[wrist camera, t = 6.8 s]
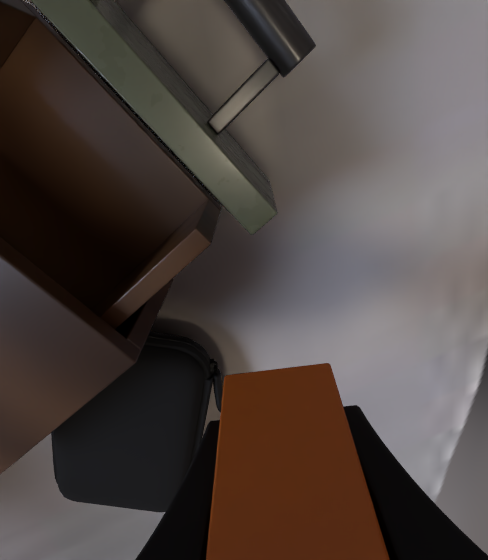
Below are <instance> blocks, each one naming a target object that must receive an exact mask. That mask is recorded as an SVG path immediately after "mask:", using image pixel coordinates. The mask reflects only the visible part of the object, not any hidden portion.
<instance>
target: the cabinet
mask: <svg viewBox="0 0 488 560" xmlns="http://www.w3.org/2000/svg"><path fill="white" fill-rule="evenodd" d="M172 281H173V278H172V279H171V280H170V281H169V282H168V283H167V284H166V285H165V286H163V287H162V288H161V289H160V290H159V291H158V292H157V293H156V294H154V295H153V296H152V297H151V298H150V299H149V300H148V301H147V302H145V303H144V304H143V305H142V306H141V307H140V308H139V309H138V310H136V311H135V312H134V313H133V314H132V315H131V316H130V317H129V318H127V319H126V320H125V321H124V322H123V323H122V324H121V325H120V326H118V327H117V328H116V329H113V328H112V327H111V326H110V325H108V324H107V323H106V322H105V321H103V320H102V319H101V318H100V317H99V316H97V315H96V314H95V313H94V312H92V311H91V310H90V309H89V308H87V307H86V306H85V305H84V304H82V303H81V302H80V301H79V300H77V299H76V298H75V297H74V296H72V295H71V294H70V293H69V292H68V291H66V290H65V289H64V288H63V287H61V286H60V285H59V284H58V283H56V282H55V281H54V280H53V279H51V278H50V277H49V276H48V275H46V274H45V273H44V272H43V271H41V270H40V269H39V268H38V267H36V266H35V265H34V264H33V263H32V262H30V261H29V260H28V259H27V258H25V257H24V256H23V255H22V254H20V253H19V252H18V251H17V250H15V249H14V248H13V247H12V246H10V245H9V244H8V243H7V242H5V241H4V240H3V239H2V238H0V474H1V473H3V472H4V471H5V470H6V469H7V468H9V467H10V466H11V465H12V464H13V463H15V462H16V461H17V460H18V459H20V458H21V457H22V456H23V455H24V454H26V453H27V452H28V451H29V450H30V449H32V448H33V447H34V446H35V445H37V444H38V443H39V442H40V441H41V440H43V439H44V438H45V437H46V436H47V435H49V434H50V433H51V432H52V431H54V430H55V429H56V428H57V427H58V426H60V425H61V424H62V423H63V422H64V421H66V420H67V419H68V418H69V417H71V416H72V415H73V414H74V413H75V412H77V411H78V410H79V409H80V408H81V407H83V406H84V405H85V404H86V403H87V402H89V401H90V400H91V399H92V398H94V397H95V396H96V395H97V394H98V393H100V392H101V391H102V390H103V389H104V388H106V387H107V386H108V385H109V384H111V383H112V382H113V381H114V380H115V379H117V378H118V377H119V376H120V375H121V374H123V373H124V372H125V371H126V370H128V369H129V368H130V367H131V366H132V365H134V364H135V363H136V361H137V359H138V357H139V354H140V352H141V350H142V348H143V346H144V343H145V341H146V339H147V337H148V335H149V332H150V330H151V328H152V326H153V323H154V321H155V319H156V317H157V315H158V312H159V310H160V308H161V306H162V304H163V301H164V299H165V297H166V295H167V293H168V290H169V288H170V286H171V283H172Z"/></svg>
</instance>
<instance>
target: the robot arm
mask: <svg viewBox="0 0 488 560" xmlns="http://www.w3.org/2000/svg"><path fill="white" fill-rule="evenodd" d="M343 408H344V411H345V414H346V418H347V421H348V424H349V427H350V431H351V434H352V437H353V441H354V444H355V447H356V450H357V454H358V457H359V460H360V464H361V467H362V470H363V473H364V477H365V480H366V483H367V487H368V490H369V493H370V496H371V500H372V503H373V506H374V509H375V513H376V516H377V519H378V523H379V526H380V529H381V532H382V536H383V539H384V542H385V546H386V549H387V552H388V555H389V559H390V560H488V555H487V554H486V553H484V552H483V551H482V550H481V549H480V548H479V547H478V546H477V545H476V544H475V543H473V542H472V540H471V539H469V538H468V537H467V536H466V535H465V534H464V533H463V532H462V531H461V530H460V529H459V528H458V527H457V526H456V525H455V524H454V523H453V522H452V521H451V520H450V519H449V518H448V517H447V516H446V515H445V514H444V513H443V512H442V511H441V510H440V509H439V508H438V507H437V506H436V504H435V503H434V502H433V501H432V500H431V499H430V498H429V497H428V496H427V495H426V494H425V492H424V491H423V490H422V489H421V488H420V487H419V486H418V485H417V483H416V482H415V481H414V480H413V479H412V478H411V477H410V475H409V474H408V473H407V472H406V471H405V469H404V468H403V467H402V466H401V464H400V463H399V462H398V461H397V460H396V458H395V457H394V456H393V455H392V453H391V452H390V451H389V449H388V448H387V447H386V446H385V444H384V443H383V442H382V440H381V439H380V437H379V436H378V435H377V433H376V432H375V430H374V429H373V428H372V426H371V425H370V423H369V422H368V420H367V419H366V417H365V415H364V414H363V412H362V410H361V409H360V407H358V406H357V405H354V406H345V407H343ZM219 424H220V420H216V421H210V422H209V424H208V425H207V428H206V431H205V433H204V436H203V438H202V441H201V443H200V445H199V448H198V450H197V452H196V454H195V456H194V459H193V461H192V463H191V465H190V467H189V469H188V471H187V473H186V475H185V477H184V479H183V481H182V483H181V485H180V487H179V489H178V491H177V493H176V494H175V496H174V498H173V500H172V502H171V503H170V505H169V507H168V509H167V511H166V512H165V514H164V516H163V518H162V519H161V521H160V523H159V524H158V526H157V527H156V529H155V531H154V532H153V534H152V535H151V537H150V539H149V540H148V542H147V543H146V545H145V546H144V548H143V549H142V551H141V552H140V554H139V555H138V557H137V558H136V559H135V560H206V553H207V543H208V533H209V524H210V514H211V504H212V494H213V484H214V474H215V464H216V454H217V444H218V434H219Z"/></svg>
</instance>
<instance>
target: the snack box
mask: <svg viewBox="0 0 488 560" xmlns="http://www.w3.org/2000/svg"><path fill="white" fill-rule="evenodd" d="M206 560H390V559H389V555H388V552H387V549H386V546H385V542H384V539H383V536H382V532H381V529H380V526H379V523H378V519H377V516H376V513H375V509H374V506H373V503H372V500H371V496H370V493H369V490H368V487H367V483H366V480H365V477H364V473H363V470H362V467H361V464H360V460H359V457H358V454H357V450H356V447H355V444H354V441H353V437H352V434H351V431H350V427H349V424H348V421H347V418H346V414H345V411H344V408H343V405H342V401H341V398H340V395H339V391H338V388H337V385H336V382H335V378H334V375H333V372H332V368H331V366H330V364H329V363H324V364H316V365H308V366H299V367H291V368H283V369H274V370H266V371H257V372H249V373H241V374H232V375H226V376H225V377H224V385H223V395H222V405H221V415H220V424H219V434H218V444H217V454H216V464H215V474H214V484H213V494H212V504H211V514H210V524H209V533H208V543H207V553H206Z"/></svg>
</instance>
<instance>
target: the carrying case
mask: <svg viewBox="0 0 488 560" xmlns="http://www.w3.org/2000/svg"><path fill="white" fill-rule="evenodd" d="M212 382H213V385H214V393H215V399H216V405H217V408H218V410H219V412H220V413H221V405H222V395H223V381H222V375H221V372H220V369H218V365H217V362H216V361H214V359H210V357H209V355H208V353H207V352H206V350H205V349H204V348H203V347H202V346H201V345H199V344H198V343H197V342H195V341H193V340H191V339H189V338H186V337H182V336H175V335H169V334H162V333H156V332H149V335H148V337H147V339H146V341H145V343H144V346H143V348H142V350H141V352H140V354H139V357H138V359H137V361H136V363H135V364H134V365H132V366H131V367H130V368H129V369H128V370H126V371H125V372H124V373H123V374H121V375H120V376H119V377H118V378H117V379H115V380H114V381H113V382H112V383H111V384H109V385H108V386H107V387H106V388H104V389H103V390H102V391H101V392H100V393H98V394H97V395H96V396H95V397H94V398H92V399H91V400H90V401H89V402H87V403H86V404H85V405H84V406H83V407H81V408H80V409H79V410H78V411H77V412H75V413H74V414H73V415H72V416H71V417H69V418H68V419H67V420H66V421H64V422H63V423H62V424H61V425H60V426H58V427H57V428H56V429H55V430H54V431H52V432H51V435H52V450H53V464H54V473H55V479H56V482H57V484H58V487H59V490H60V492H61V493H62V495H63V496H64V497H65V498H67V499H69V500H72V501H76V502H84V503H91V504H99V505H107V506H115V507H123V508H130V509H138V510H146V511H154V512H166V511H167V509H168V507H169V505H170V503H171V502H172V500H173V498H174V496H175V494H176V493H177V491H178V489H179V487H180V485H181V483H182V481H183V479H184V477H185V475H186V473H187V471H188V469H189V467H190V465H191V463H192V461H193V459H194V456H195V454H196V452H197V450H198V448H199V445H200V443H201V441H202V436H203V430H204V425H205V420H206V414H207V409H208V404H209V398H210V393H211V388H212Z"/></svg>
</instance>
